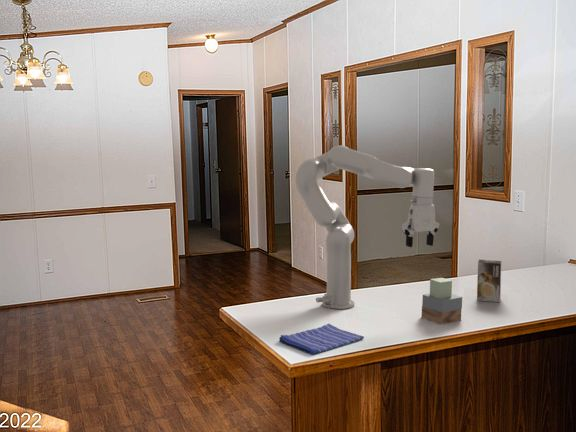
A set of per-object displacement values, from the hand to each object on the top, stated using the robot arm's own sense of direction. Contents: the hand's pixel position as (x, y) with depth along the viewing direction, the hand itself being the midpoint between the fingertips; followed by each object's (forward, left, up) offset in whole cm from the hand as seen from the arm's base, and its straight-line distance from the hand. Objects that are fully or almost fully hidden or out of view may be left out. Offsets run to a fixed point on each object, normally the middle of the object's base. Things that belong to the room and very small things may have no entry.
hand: (419, 245), depth 234 cm
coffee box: (+36, -1, -26) cm, 44 cm away
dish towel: (-51, -12, -26) cm, 58 cm away
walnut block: (+1, -12, -26) cm, 29 cm away
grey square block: (+1, -12, -21) cm, 25 cm away
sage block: (0, -12, -17) cm, 21 cm away
